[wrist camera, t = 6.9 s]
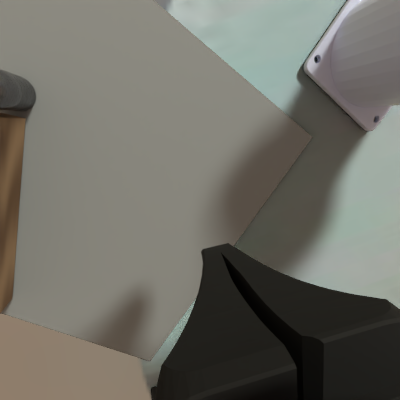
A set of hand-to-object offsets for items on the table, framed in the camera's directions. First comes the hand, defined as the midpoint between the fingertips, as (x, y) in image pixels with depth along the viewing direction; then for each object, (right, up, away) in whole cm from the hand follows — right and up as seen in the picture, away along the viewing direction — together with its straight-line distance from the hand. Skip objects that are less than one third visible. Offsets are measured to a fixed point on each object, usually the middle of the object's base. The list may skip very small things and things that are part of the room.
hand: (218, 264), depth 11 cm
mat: (-8, +4, +6) cm, 11 cm away
